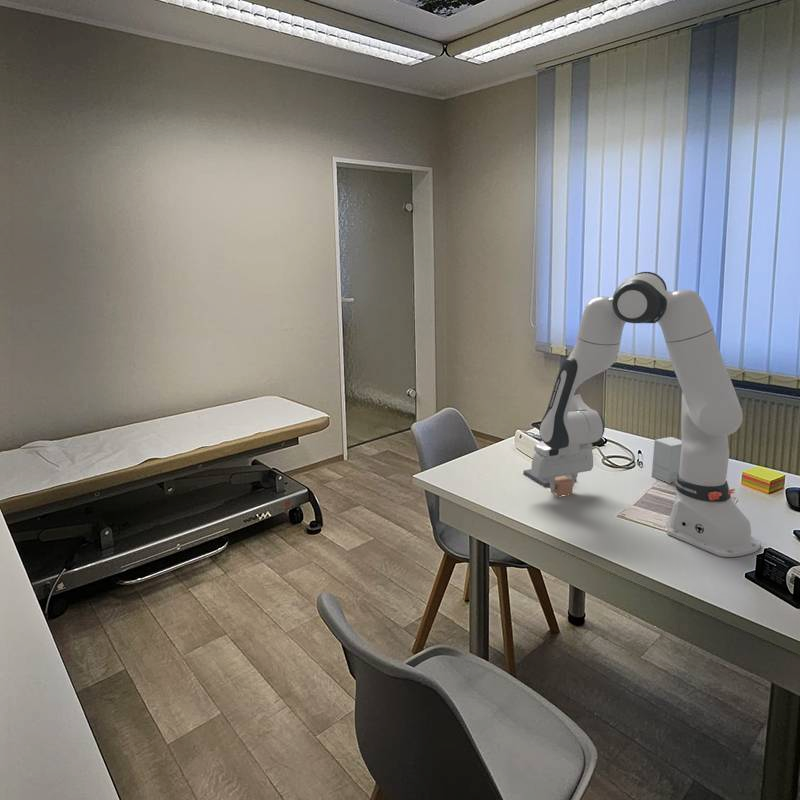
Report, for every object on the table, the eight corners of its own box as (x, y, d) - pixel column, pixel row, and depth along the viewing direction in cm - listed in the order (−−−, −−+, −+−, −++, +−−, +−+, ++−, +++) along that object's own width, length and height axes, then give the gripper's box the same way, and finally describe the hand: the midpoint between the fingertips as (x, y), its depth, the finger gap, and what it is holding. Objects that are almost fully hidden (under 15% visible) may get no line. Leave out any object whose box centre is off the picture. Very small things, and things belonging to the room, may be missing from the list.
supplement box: (686, 480, 194) (690, 442, 191) (667, 484, 191) (671, 445, 188) (668, 472, 201) (671, 436, 198) (650, 476, 198) (653, 439, 195)
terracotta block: (572, 494, 185) (573, 480, 184) (559, 496, 183) (560, 482, 182) (563, 489, 189) (563, 475, 188) (550, 491, 187) (551, 477, 186)
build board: (576, 480, 195) (576, 477, 195) (544, 486, 191) (544, 483, 191) (553, 468, 206) (554, 465, 206) (523, 473, 202) (523, 470, 201)
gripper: (585, 437, 189) (583, 479, 192) (529, 446, 182) (527, 489, 185) (599, 443, 183) (596, 486, 187) (541, 452, 176) (539, 497, 179)
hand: (561, 487), depth 186 cm, fingers closed on terracotta block, 4 cm apart
